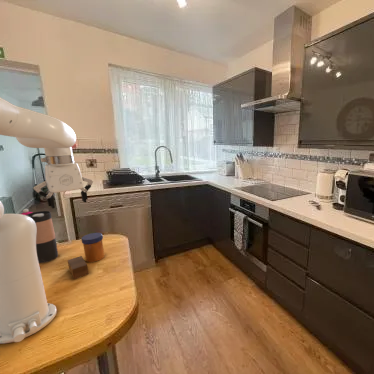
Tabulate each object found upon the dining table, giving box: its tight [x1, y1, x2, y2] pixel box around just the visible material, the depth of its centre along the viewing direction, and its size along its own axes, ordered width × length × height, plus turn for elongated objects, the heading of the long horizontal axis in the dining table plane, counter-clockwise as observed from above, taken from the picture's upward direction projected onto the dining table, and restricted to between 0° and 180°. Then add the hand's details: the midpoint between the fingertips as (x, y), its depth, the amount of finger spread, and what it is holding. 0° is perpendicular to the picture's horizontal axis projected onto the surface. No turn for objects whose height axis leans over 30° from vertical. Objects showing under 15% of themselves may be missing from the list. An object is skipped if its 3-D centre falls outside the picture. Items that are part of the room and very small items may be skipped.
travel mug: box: [26, 210, 59, 264], centre depth 89 cm, size 8×8×20 cm
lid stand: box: [67, 255, 90, 280], centre depth 82 cm, size 9×4×4 cm, turn 48°
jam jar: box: [82, 239, 105, 263], centre depth 92 cm, size 7×7×10 cm
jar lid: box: [81, 232, 104, 245], centre depth 91 cm, size 7×7×2 cm
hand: (69, 204), depth 83 cm, fingers open, 9 cm apart
